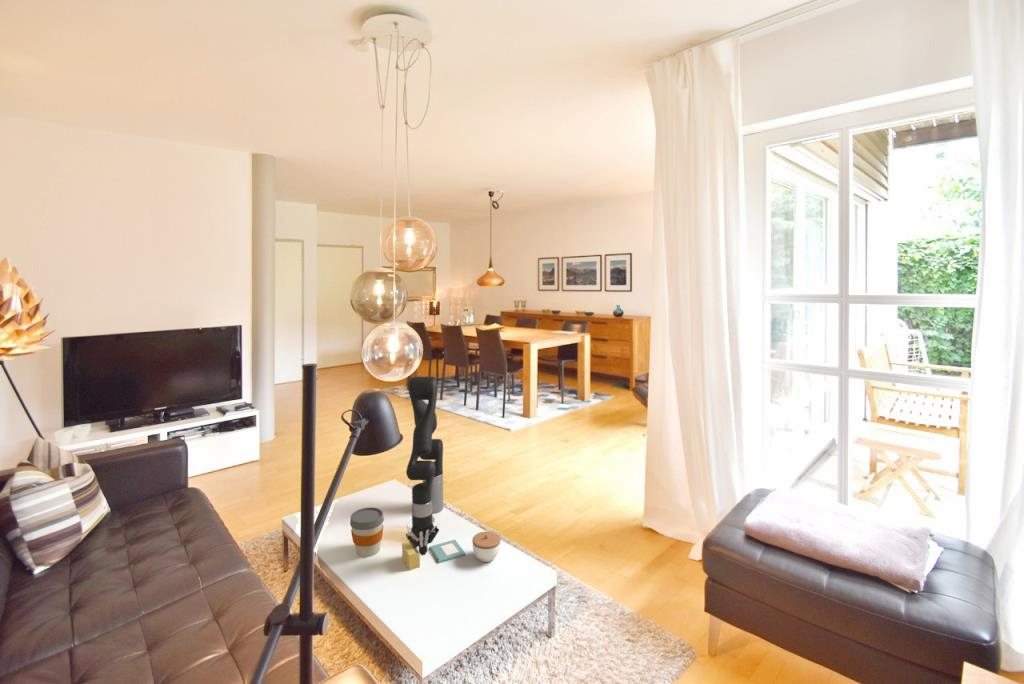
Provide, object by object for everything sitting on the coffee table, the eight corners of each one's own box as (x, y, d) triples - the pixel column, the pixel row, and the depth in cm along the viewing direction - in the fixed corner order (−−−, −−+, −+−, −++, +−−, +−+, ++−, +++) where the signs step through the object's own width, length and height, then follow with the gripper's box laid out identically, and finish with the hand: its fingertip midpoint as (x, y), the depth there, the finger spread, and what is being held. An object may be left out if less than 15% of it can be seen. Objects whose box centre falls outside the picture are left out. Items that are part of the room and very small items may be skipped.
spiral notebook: (429, 548, 193) (429, 546, 193) (454, 541, 198) (454, 539, 198) (438, 563, 183) (438, 560, 183) (465, 555, 189) (465, 552, 188)
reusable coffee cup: (376, 561, 184) (374, 524, 182) (345, 558, 186) (343, 521, 184) (389, 543, 196) (388, 508, 194) (361, 540, 198) (359, 505, 196)
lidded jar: (500, 549, 193) (500, 527, 191) (500, 565, 182) (500, 542, 181) (473, 549, 193) (473, 527, 191) (471, 565, 182) (471, 542, 181)
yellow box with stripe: (402, 557, 187) (401, 542, 186) (412, 554, 189) (412, 539, 188) (409, 570, 179) (408, 554, 178) (419, 567, 181) (419, 551, 180)
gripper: (435, 503, 189) (436, 544, 192) (401, 511, 183) (403, 553, 186) (442, 511, 183) (442, 554, 186) (408, 520, 177) (409, 564, 179)
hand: (423, 554), depth 186 cm, fingers closed
